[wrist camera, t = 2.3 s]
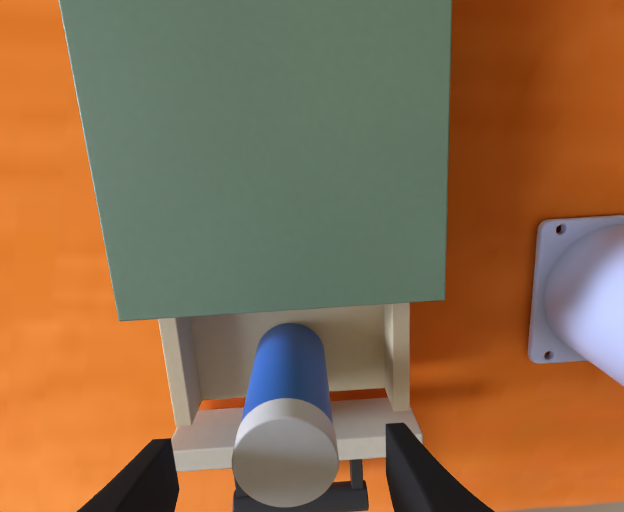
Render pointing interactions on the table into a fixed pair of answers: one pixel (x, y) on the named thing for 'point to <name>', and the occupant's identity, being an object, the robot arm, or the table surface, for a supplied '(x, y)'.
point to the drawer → (341, 376)
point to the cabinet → (266, 150)
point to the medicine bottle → (287, 421)
